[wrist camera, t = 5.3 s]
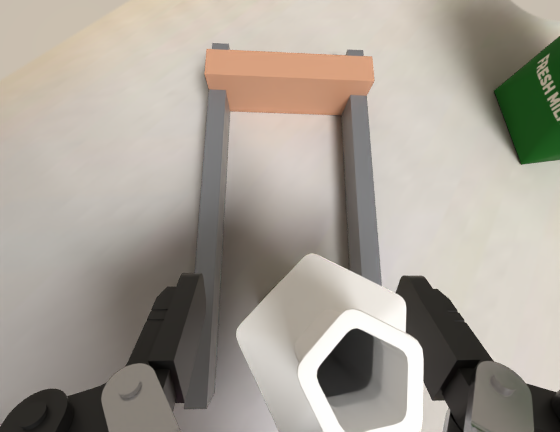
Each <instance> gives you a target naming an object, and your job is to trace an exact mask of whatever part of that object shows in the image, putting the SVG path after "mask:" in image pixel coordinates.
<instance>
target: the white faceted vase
mask: <svg viewBox="0 0 560 432" xmlns="http://www.w3.org/2000/svg"><path fill="white" fill-rule="evenodd" d="M236 338H237V341H238V344H239V346H240V348H241V350H242V352H243V354H244V357H245V359H246V361H247V363H248V365H249V367H250V370H251V372H252V374H253V376H254V378H255V381H256V383H257V385H258V387H259V389H260V391H261V394H262V396H263V398H264V400H265V402H266V404H267V407H268V409H269V411H270V413H271V415H272V417H273V420H274V422H275V424H276V426H277V428H278V430H279V432H420V431H421V427H422V421H423V365H424V358H423V350H422V347H421V346H420V344H419V342H418V340H416V339H415V338H413V337H412V336H411V335H409V334H407V333H406V303H405V301H404V299H403V298H402V297H401V296H400V295H398V294H396V293H394V292H392V291H390V290H388V289H386V288H384V287H382V286H380V285H378V284H376V283H374V282H372V281H370V280H368V279H366V278H364V277H362V276H360V275H358V274H356V273H354V272H352V271H350V270H348V269H346V268H344V267H342V266H340V265H338V264H336V263H334V262H332V261H330V260H328V259H326V258H323V257H321V256H319V255H317V254H313V253H311V254H307V255H306V256H305V257H303V258H302V259H301V260H300V261H299V262H298V264H297V265H296V266H295V267H294V268H293V269H292V270H291V271H290V272H289V273H288V274H287V275H286V276H285V277H284V278H283V279H282V280H281V281H280V282H279V283H278V284H277V285H276V286H275V287H274V288H273V289H272V290H271V291H270V292H269V294H268V295H267V296H266V297H265V298H264V299H263V300H262V301H261V302H260V304H259V305H258V306H257V307H256V308H255V309H254V310H253V311H252V312H251V313H250V314H249V315H248V316H247V318H246V319H245V320H244V321H243V322H242V323H241V324H240V325H239V327H238V328H237V331H236Z"/></svg>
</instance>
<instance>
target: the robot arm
mask: <svg viewBox="0 0 560 432" xmlns="http://www.w3.org/2000/svg"><path fill="white" fill-rule="evenodd" d="M396 294H398V295H400V296H401V297H402V298H403V299H404V301H405V303H406V333H407V334H409V335H411V336H412V337H413V338H415V339H416V340H418V342H419V344H420V346H421V347H422V350H423V358H424V365H423V381H424V384H425V386H426V388H427V390H428V392H429V394H430V397H431V399H432V401H435V400H445V401H446V403H447V405H448V407H449V408H448V410H447V412H446V417H445V422H444V428H443V432H560V390H559V391H558V392H553V391H550V390H547V389H543V388H540V387H536V386H533V385H529V384H526V383H525V382H524V381H523V380H522V378H521V377H520V376H519V375H517V374H516V373H515V372H514V371H513V370H511V369H509V368H508V367H506V366H504V365H502V364H500V363H497V362H494V361H493V360H492V358H491V357H490V356H489V354H488V353H487V351H486V350H485V349H484V347H483V346H482V344H481V343H480V341H479V340H478V339H477V337H476V336H475V334H474V333H473V332H472V330H471V329H470V327H469V326H468V325H467V323H465V322H464V319H463V318H462V316H461V315H460V313H458V312H457V309H456V308H455V306H454V305H453V304H452V302H451V301H450V299H449V298H447V297H446V296H445V295H444V294H442V293H441V292H440V291H439V290H438V289H433V288H432V287H431V285H430V284H429V283H428V281H427V280H426V278H425V277H423V276H402V277H401V279H400V282H399V285H398V288H397V290H396ZM205 315H206V294H205V287H204V279H203V274H202V273H182V275H181V276H180V279H179V282H178V284H177V287H167V288H166V289H165V290H164V291H163V292H162V293H161V294H160V295H159V296H158V297H157V299H156V301H155V303H154V305H153V307H152V311H151V312H150V314H149V316H148V319H147V322H146V323H145V325H144V328H143V330H142V332H141V334H140V336H139V339H138V341H137V343H136V345H135V348H134V350H133V352H132V354H131V357H130V359H129V361H128V363H127V364H126V366H125V367H124V368H122V369H121V370H119V371H118V372H117V373H115V374H114V375H113V376H112V377H111V378H110V379H109V381H108V382H107V383H105V384H103V385H101V386H98V387H96V388H93V389H90V390H86V391H83V392H80V393H77V394H74V395H71V396H68V397H67V396H66V394H65V393H64V392H63V391H61V390H58V389H46V390H43V391H40V392H37V393H35V394H33V395H31V396H29V397H28V398H26V399H25V400H23V401H22V402H21V403H20V404H18V405H17V406H16V407H15V408H14V409H13V410H12V411H11V412H10V413H9V415H8V416H7V417H6V419H5V420H4V422H3V423H2V425H1V426H0V432H181V431H180V429H179V426H178V424H177V422H176V419H175V417H174V415H173V413H172V412H173V408H174V405H175V403H185V399H186V395H187V391H188V387H189V382H190V378H191V374H192V370H193V366H194V361H195V357H196V353H197V349H198V345H199V340H200V336H201V332H202V328H203V324H204V319H205Z"/></svg>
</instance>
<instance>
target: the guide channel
mask: <svg viewBox="0 0 560 432" xmlns="http://www.w3.org/2000/svg"><path fill="white" fill-rule="evenodd" d="M205 77H206V81H207V84H208V88H209V95H208V108H207V121H206V134H205V146H204V159H203V172H202V185H201V198H200V211H199V224H198V237H197V249H196V262H195V273H202V274H203V279H204V287H205V294H206V315H205V319H204V324H203V328H202V332H201V336H200V340H199V345H198V349H197V353H196V357H195V361H194V366H193V370H192V374H191V378H190V382H189V387H188V391H187V395H186V399H185V404H184V409H207V407H208V405H209V403H210V401H211V399H212V396H213V394H214V392H215V376H216V358H217V340H218V322H219V304H220V286H221V267H222V249H223V231H224V213H225V195H226V177H227V159H228V141H229V123H230V111H239V112H266V113H294V114H322V115H341V117H342V136H343V154H344V173H345V192H346V210H347V229H348V248H349V266H350V271H352V272H354V273H356V274H358V275H360V276H362V277H364V278H366V279H368V280H370V281H372V282H374V283H376V284H378V285H380V286H382V282H381V270H380V257H379V245H378V232H377V219H376V207H375V194H374V182H373V169H372V157H371V144H370V132H369V119H368V106H367V94H368V92H369V90H370V88H371V87H372V85H373V83H374V71H373V60H372V57H369V56H363V50H347V53H346V55H326V54H305V53H283V52H262V51H241V50H230V49H229V44H220V43H212V49H207V51H206V63H205Z"/></svg>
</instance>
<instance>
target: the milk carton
mask: <svg viewBox="0 0 560 432" xmlns="http://www.w3.org/2000/svg"><path fill="white" fill-rule="evenodd" d="M494 92H495V95H496V97H497V100H498V103H499V106H500V108H501V111H502V114H503V116H504V119H505V122H506V124H507V127H508V130H509V132H510V135H511V138H512V141H513V143H514V146H515V149H516V151H517V154H518V157H519V159H520V162H521V164H529V163H537V162H545V161H554V160H560V36H559V37H558V38H557V39H556V40H554V41H553V42H552V43H551V44H550V45H548V46H547V47H546V48H545V49H544V50H542V51H541V52H540V53H539V54H538V55H536V56H535V57H534V58H533V59H532V60H531V61H529V62H528V63H527V64H526V65H525V66H523V67H522V68H521V69H520V70H519V71H517V72H516V73H515V74H514V75H513V76H511V77H510V78H509V79H508V80H506V81H505V82H504V83H503V84H502V85H500V86H499V87H498V88H497V89H495V90H494Z"/></svg>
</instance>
